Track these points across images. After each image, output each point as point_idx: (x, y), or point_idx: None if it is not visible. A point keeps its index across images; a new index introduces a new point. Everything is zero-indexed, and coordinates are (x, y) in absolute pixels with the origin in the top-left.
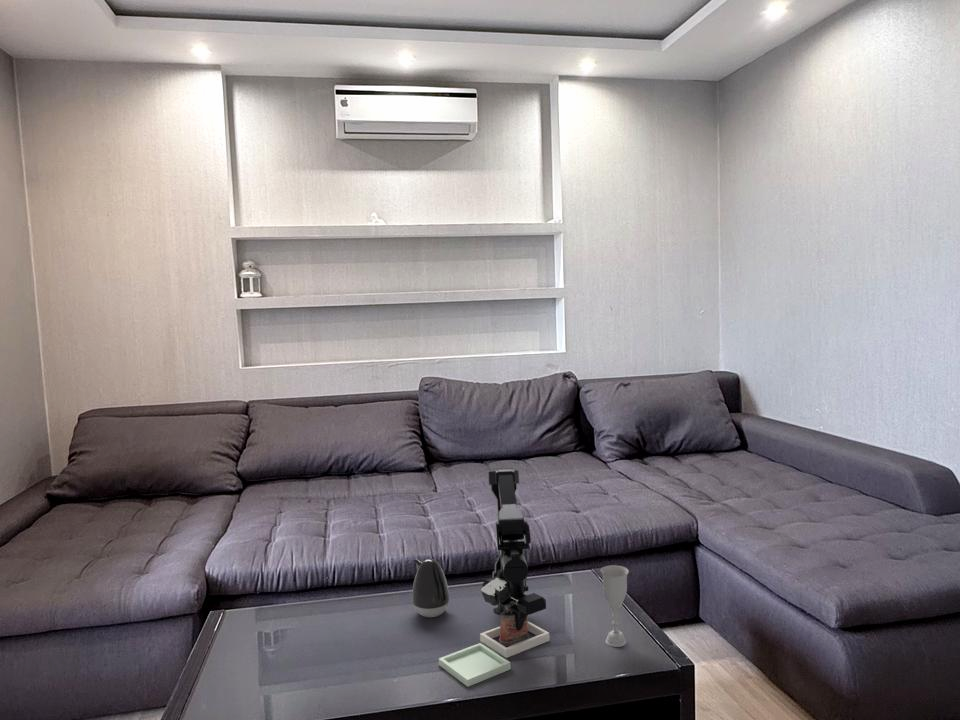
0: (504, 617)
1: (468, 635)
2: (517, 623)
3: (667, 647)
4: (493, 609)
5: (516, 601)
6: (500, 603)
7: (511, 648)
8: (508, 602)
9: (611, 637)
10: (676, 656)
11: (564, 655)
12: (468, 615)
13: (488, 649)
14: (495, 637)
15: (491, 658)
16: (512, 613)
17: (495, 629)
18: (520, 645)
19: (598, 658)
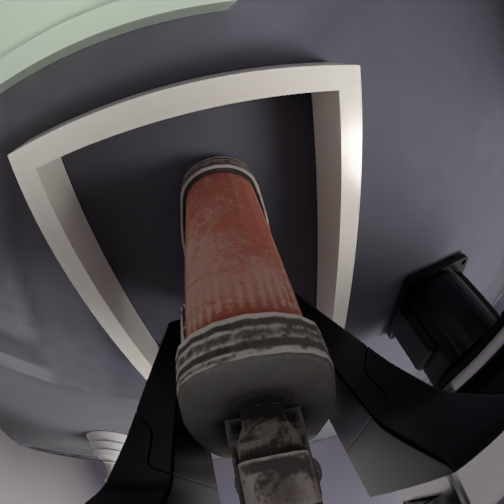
0: (190, 369)
1: (416, 56)
2: (152, 376)
3: (80, 457)
4: (466, 256)
5: (420, 354)
6: (430, 413)
7: (31, 201)
8: (373, 453)
9: (98, 449)
10: (51, 453)
11: (40, 363)
12: (499, 167)
13: (90, 23)
14: (316, 167)
15: (29, 36)
16: (228, 431)
17: (344, 192)
18: (66, 265)
19: (30, 403)
